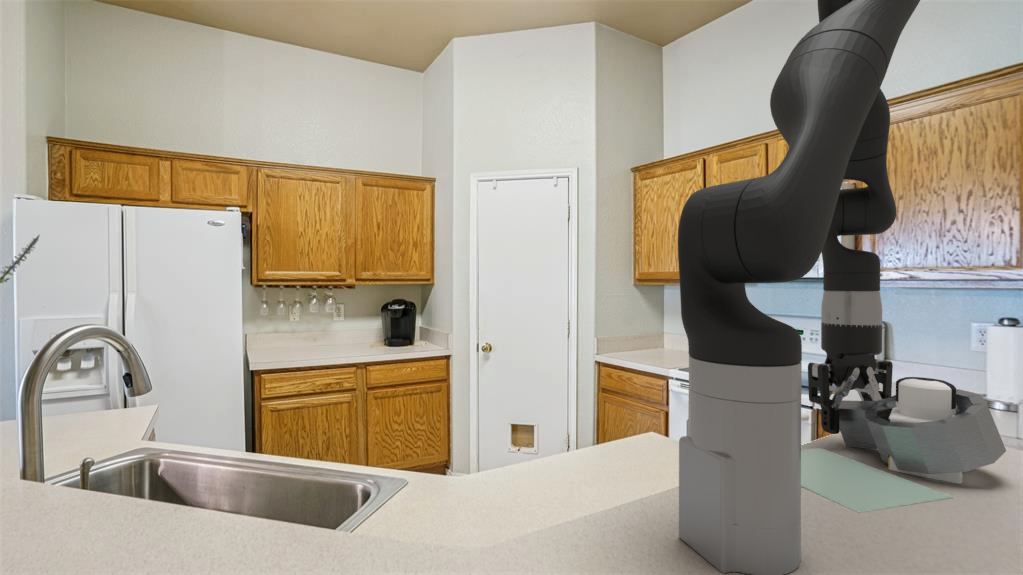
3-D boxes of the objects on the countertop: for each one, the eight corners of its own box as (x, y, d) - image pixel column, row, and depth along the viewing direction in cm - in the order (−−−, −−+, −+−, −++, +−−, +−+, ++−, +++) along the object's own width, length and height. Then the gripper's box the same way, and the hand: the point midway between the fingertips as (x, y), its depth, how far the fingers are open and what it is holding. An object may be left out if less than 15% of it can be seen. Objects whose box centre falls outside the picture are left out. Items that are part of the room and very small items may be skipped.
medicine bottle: (891, 456, 69) (892, 372, 69) (960, 469, 64) (961, 379, 64) (887, 470, 63) (888, 379, 63) (962, 485, 59) (963, 387, 59)
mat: (858, 516, 51) (858, 512, 51) (741, 460, 67) (741, 457, 67) (953, 500, 55) (953, 496, 55) (820, 450, 71) (820, 447, 71)
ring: (976, 480, 55) (955, 430, 55) (827, 459, 71) (812, 420, 71) (1022, 435, 60) (1003, 389, 61) (874, 424, 76) (859, 388, 77)
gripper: (836, 324, 67) (836, 442, 67) (912, 322, 71) (911, 434, 71) (791, 320, 75) (791, 427, 75) (863, 318, 78) (862, 420, 79)
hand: (850, 430), depth 73 cm, fingers open, 7 cm apart
